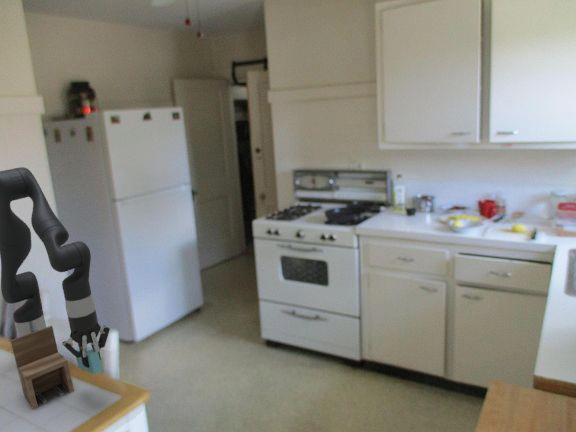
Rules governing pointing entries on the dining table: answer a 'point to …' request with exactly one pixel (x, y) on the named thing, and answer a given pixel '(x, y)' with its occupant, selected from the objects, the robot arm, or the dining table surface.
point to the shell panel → (90, 361)
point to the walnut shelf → (40, 365)
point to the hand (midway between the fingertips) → (92, 364)
